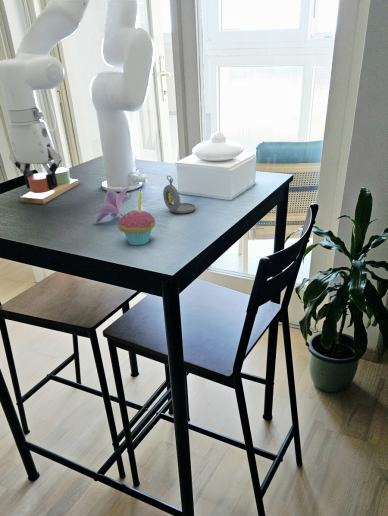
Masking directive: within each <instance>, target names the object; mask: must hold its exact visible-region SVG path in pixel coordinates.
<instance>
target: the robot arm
mask: <svg viewBox="0 0 388 516" xmlns="http://www.w3.org/2000/svg"><path fill="white" fill-rule="evenodd" d="M90 1H91V0H48V1H47V3H46V5H45V7H44V8H43V9H42V10H41V11H40V12H39V14H38V15H37V17H36V18H35V19H34V21H33V22H32V23H31V25H30V26H29V27H28V28H27V30H26V32H24V34H23V37H22V38H21V41H20V43H19V46H18V48H17V51H16V54H15V57H14V58H5V59H2V60H1V59H0V88H1V92H2V96H3V99H4V103H5V107H6V111H7V115H8V118H9V123H8V124H9V125H8V126H9V127H8V128H9V135H10V141H11V147H12V152H11V153H10V155H9V156H8V158H9V160H10V161H11V162H12V163H13V164H14V166H15V167H16V168H17V169H18V170H19V172H20V174H22V175H23V178H24V179H23V180H24V183H25V185H26V188H27V189H30V185H29V181H28V177H29V176H30V175H33V174H34V173H33V170H32V169H31V165H42V167H43V169H44V170H45V173H48V174H47V175H46V178H47V182H48V186H49V189H50V190H52V189H54V188H56V187H57V186H58V185H57V179H56V175H55V172H56V171H57V168H59V167H60V164H61V163H62V160H63V157H62V156H61V155H59V153H58V152H56V149H55V145H54V142H53V138H52V136H51V132H50V130H49V128H48V126H47V123H46V121H45V120H44V119H42V118H43V117H44V112H43V110H40V108H39V104H38V100H37V96H36V92H35V91H38V90H54V89H56V88H58V87H59V86H60V85H61V84H62V83H63V82H64V79H65V67H64V66H63V63H61V61H60V60H59V59H58V58H57V57H55V56H53V55H51V54H50V53H51V51H52V50H53V49H54V48H55V47H56V46H57V45H58V44H59V43H60V42H62V41H63V40H65V39H67V38H69V37H70V36H71V35H73V34H74V33H75V32H77V30H79V28H80V26H81V23H82V21H83V19H84V17H85V14H86V12H87V8H88V6H89V3H90ZM106 2H107V8H106V9H107V11H106V19H105V24H104V31H103V36H102V43H101V56H102V59H103V61H104V63H105V64H106V65H107V66H110V67H112V68H115V69H122V71H112V70H111V71H109V70H108V71H101V72H98V73H97V74H95V76H93V78H92V79H91V82H90V84H89V85H90V86H89V93H90V99H91V102H92V105H93V108H94V110H95V115H96V119H97V126H98V131H99V132H98V133H99V138H100V139H99V140H100V146H101V152H102V158H103V159H102V160H103V167H104V173H105V181H103V182H102V183H101V187H102V189H103V190H104V191H106V192H107V191H108V190H109V189H111V190H113V191H115V192H116V193H120V192H121V191H123V190H124V189H125V188H127V187H129V188H128V190H127V192H129V191H134V190H137V189H140V188H142V186H143V184H147V183H149V177H148V175H147V174H140V169H137V167H136V159H135V149H134V140H133V130H132V129H133V128H132V123H131V120H130V119H131V118H130V116H129V114H128V112H132V113H135V112H138V111H139V110H141V109H142V108H143V106H144V105H145V103H146V101H147V98H148V94H149V89H150V84H151V78H152V74H153V68H154V63H155V55H156V54H155V51H156V50H155V44H154V41H153V40H154V39H153V37H152V35H151V34H150V33H149V32H148V31H147V30H146V29H144V28H141V27H138V24H139V18H140V17H139V16H140V8H139V1H138V0H106Z"/></svg>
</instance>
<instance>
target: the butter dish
mask: <svg viewBox="0 0 388 516" xmlns="http://www.w3.org/2000/svg"><path fill="white" fill-rule="evenodd" d="M191 152H192V154H189V155H187V156H186V157H183V158H181V159H179V160H177V161H175V162H174V165H175V166H176V176H177V177H176V178H177V191H178V193H179V195H180V194H181V195H189V196H196V197H204V198H211V199H218V200H225V201H232V200H234V199H235V198H236V197H238V196H240V195H241V194H242V193H244V192H245V191H247V190H248V189H249V188H251V187H253V186H254V185H256V183H257V155H256V153H255V152H246V151H245V152H244V147H243V145H242V144H241V143H239V142H237V141H234V140H230V139H227V136H226V135H225V134H224V133H223V132H222V131H215V132H213V133H212V134H211V135H210V138H209V140H205V141H202V142H200V143H197V144H196V145H195V146H194V147H193V148H192V151H191Z"/></svg>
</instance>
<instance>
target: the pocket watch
mask: <svg viewBox="0 0 388 516" xmlns="http://www.w3.org/2000/svg"><path fill="white" fill-rule="evenodd" d="M166 180H167V181H168V183H169V184H167V185H166V186H164V188H163V192H162V195H163V197H162V198H163V201H164V203H165V205H166V208H168V210H170V211H171V212H173V213H177V214H188V213H189V214H190V213H192V212H193V211H195V210H196V205H195V204H194V203H191V202H181V198H180V193H178V188H176V186H174V185H173V182H174V179H173V177H172V176H171V175H166Z"/></svg>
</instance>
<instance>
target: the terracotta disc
mask: <svg viewBox="0 0 388 516" xmlns="http://www.w3.org/2000/svg"><path fill="white" fill-rule="evenodd" d="M47 174H48V173H47V172H37V173H33V175H30V176H29V177H28V181H29V185H30V188H29V189H30V192H33V193H45V192H49V191H52V190H53V189H52V190H50V189H49V186H48V182H47V178H46V175H47Z"/></svg>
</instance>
